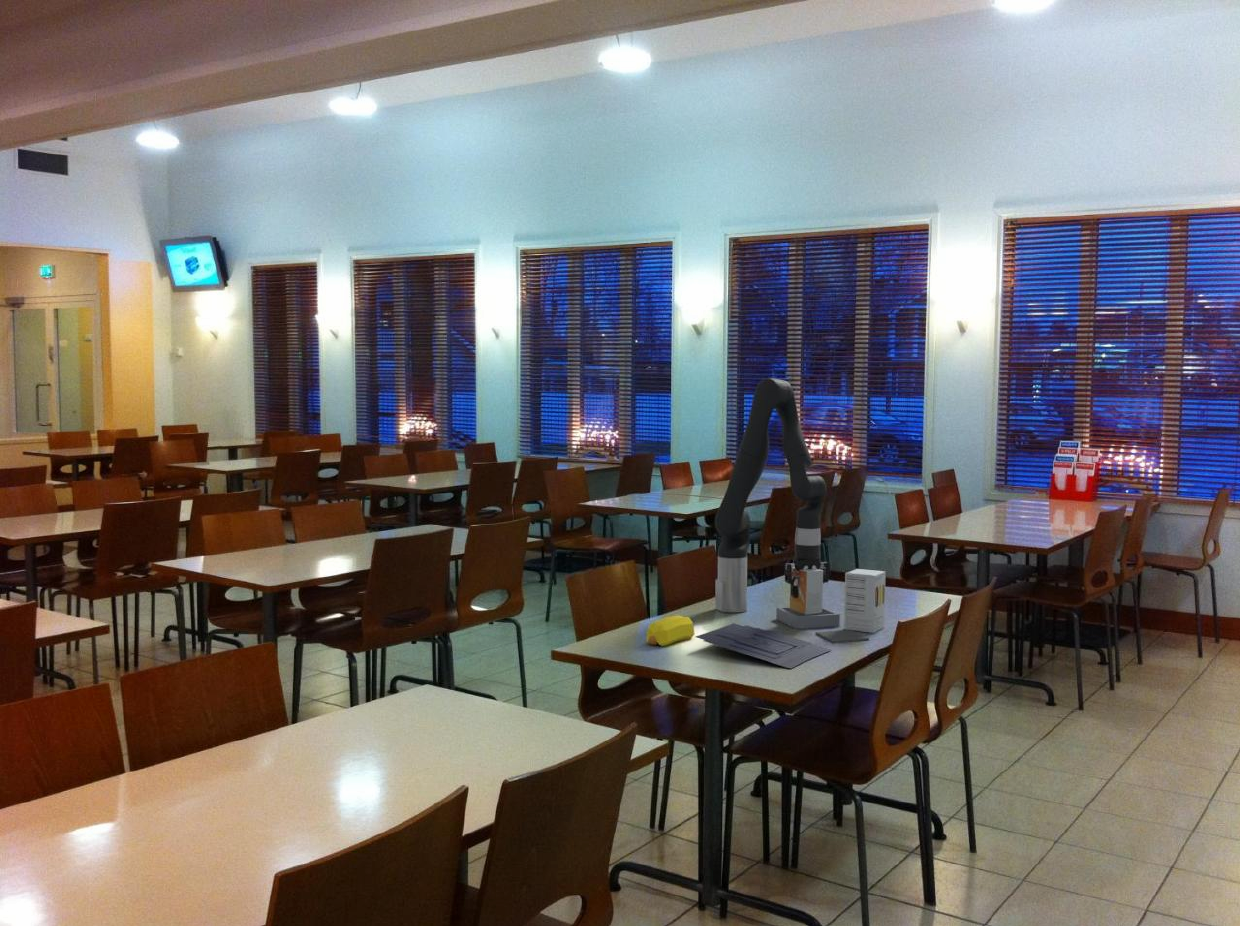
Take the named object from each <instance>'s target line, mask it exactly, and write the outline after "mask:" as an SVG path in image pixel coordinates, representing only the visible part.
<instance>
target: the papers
mask: <svg viewBox="0 0 1240 926" xmlns="http://www.w3.org/2000/svg"><path fill="white" fill-rule="evenodd" d="M695 638H697V639H700V640H703V642H705V643H709V644H712V646H717V647H720V648H723V649H727V650H731V651H734V652H736V653H740V654H743V655H748V656H749V657H750V656H751V657H753V658H756V659H760V660H763V661H766V662H767V663H768V662H769V663H772V664H775V665H778V666H781V667H784V668H788V669H793V668H796V667H797V666H798V665H800V664H801V665H802V663H804V662H807V661H809V660H810V659H812V658H815V657H818V656H820V655H823V654H826V653H828V652H831V651H832V649H831V648H827V647H824V646H821V645H818V644H816V643H812V642H811V641H807V640H803V639H800V638H797V637H793V636H789V635H786V634H783V633H778V632H775V631H772V630H768V629H763V628H758V627H754V626H751V625H741V624H738V623H733V622H732V623H730V624H728V625H725V626H722V627H720V628H717V629H714V630H711V631H708V632H704V633H703V634H699V635H697V636H695Z"/></svg>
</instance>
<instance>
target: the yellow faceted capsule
mask: <svg viewBox="0 0 1240 926" xmlns="http://www.w3.org/2000/svg"><path fill="white" fill-rule="evenodd" d="M694 636H695V627H694V622H693V621H692V620H691V618H690V617H689V616H681V615H673V616H666V617H663V618H660V619H657V620H655V621H652V622H651V623H650V625H648V627H647V630H646V643H647V644H649V645H653V646H657V645H659V646H661V647H666V646H669V645H671V644H674V643H676V642H680V641H686V640H689V639H692V638H693V637H694Z"/></svg>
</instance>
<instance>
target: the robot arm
mask: <svg viewBox="0 0 1240 926" xmlns="http://www.w3.org/2000/svg"><path fill="white" fill-rule="evenodd" d="M750 406H751V408H750V411H749V416H748V420H747V424H746V427H745V430H744V433H743V436H742V439H741V443H740V446H739V448H738V451H737V454H736V458H735V461H734V465H733V468H732V471H731V474H730V478H729V481H728V484H727V488H726V491H725V493H724V496H723V498H722V500H721V503H720V505H719V507H718V510H717V512H716V514H715V517H714V526H715V529H716V531H717V532H718V533H719V534H720V535H721V541H720V544H719V546H718V548H717V578H716V579H715V581H714V582H715V583H714V584H715V587H714V588H715V596H714V597H715V598H714V599H715V600H714V601H715V606H714V608H715V610H717V611H719V612H720V613H742V612H746V611H747V610H748V607H747V605H748V601H747V600H748V599H747V598H748V550H749V547H750V540H751V539H750V538H751V535H750V534H751V533H750V532H751V519H750V514H749V512H748V510H747V509H746V506H747V505H746V504H747V501H748V500H749V498H750V495H751V493H752V492H753V489H754V488H755V486H756V485H757V484H758V482H759V480H760V478H761V476H762V474H763V472H764V469H765V467H766V464H767V461H768V458H769V455H770V439H769V424H770V419H771V417H772V414H773V411H774V410H775V412H776V414H777V416H778V417H779V420H780V423H781V429H782V430H781V431H782V435H781V443H782V444H781V445H782V451H783V453H784V456H785V459H786V461H787V464H788V468H789V479H790V488H791V492H792V493H793V496H795V498H796V499H797V500H800V501H805V504H804V505H803V506H801V507H800V508H798V509H797V511H796V528H795V535H794V537H795V538H794V562H792V563H788V562H785V563H784V582H785V583H786V584H789V585H791V595H792V597H793V598H797V595H798V586H797V584H798V582H799V580H800V577H801V573H799V575H796V574H795V575H793V578H792V570H793V568H794V567H795V569H797V570H798V571H799V570H807V569H813V570H816V569H821V570H823V584H825V583H829V580H830V579H829V578H830V566H831V564H830V563H829V562H828V561H821V560H820V559H821V542H822V541H821V537H822V535H821V513H822V511H823V507H824V504H825V499H826V497H827V483H826V481H825V479H824V478H823V477H822V476H820V475H807V470H808V469H810V468H811V467H812V465H813V461H812V458H811V454H810V452H809V449H808V446H807V443H806V441H805V440H806V439H805V438H804V434H803V431H802V427H801V424H800V423H801V422H800V418H799V414H798V412H799V411H798V408H797V403H796V398H795V393H794V390H793V386H792V385H791V384H790V383H789V382H788V381H786V380H784V379H781V378H780V379H779V378H772V377H765V378H762V379H761V380H760V381H759V383H757V385H756V387H755V391H754V393H753V398H752V402H751V405H750ZM795 578H796V579H795Z"/></svg>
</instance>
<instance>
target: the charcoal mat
mask: <svg viewBox="0 0 1240 926" xmlns="http://www.w3.org/2000/svg"><path fill="white" fill-rule="evenodd" d="M815 635H817V636H818V637H820V638H822V639H825V640H827V641H828V642H831V643H833V644H836V643H838V644H839V643H850V642H851V643H852V642H853V643H854V642H862V641H863V642H864V641H870V638H869V637H867V636H865V635H863V634H861V633H859V632H858V631H857V632H856V631H855V630H847V629H842V630H841V629H840V630H826V631H825V630H824V631H815Z"/></svg>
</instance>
